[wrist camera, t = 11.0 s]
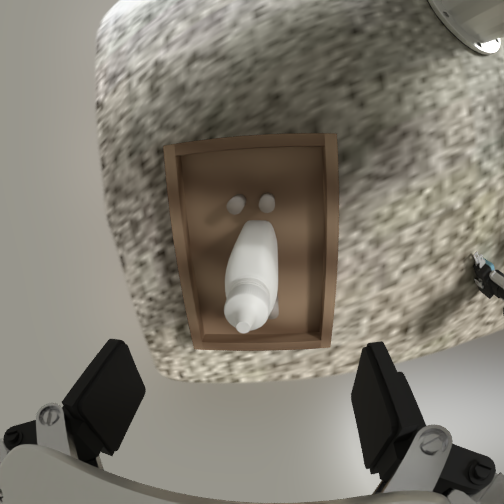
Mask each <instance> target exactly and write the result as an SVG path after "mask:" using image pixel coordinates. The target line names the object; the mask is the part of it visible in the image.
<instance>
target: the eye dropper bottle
mask: <svg viewBox="0 0 504 504" xmlns="http://www.w3.org/2000/svg"><path fill="white" fill-rule="evenodd" d="M225 292H226V298H227V300H226V303H225V306H224V314H225V318H226V319H227V320H228V322H229V323H230V324H231V325H232V326H234V327H235V328H236V329H237V331H238V332H240V333H248V332H249V331H250V330H256V329H258V328H260V327H262V326H263V324H265V322H266V321H267V319H268V317H269V315H270V313H271V311H272V309H273V307H274V304H275V301H276V298H277V292H278V247H277V239H276V235H275V231H274V229H273V226H272V224H271V223H270V222H268V221H263V220H250V221H247V222H246V223H245V224H244V226H243V228H242V230H241V232H240V235H239V237H238V239H237V241H236V243H235V245H234V248H233V250H232V253H231V255H230V258H229V261H228V264H227V268H226V274H225Z"/></svg>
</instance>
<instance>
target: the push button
mask: <svg viewBox="0 0 504 504" xmlns="http://www.w3.org/2000/svg"><path fill="white" fill-rule="evenodd" d="M476 255H477V258H476ZM474 259H475V261H476V262H475V265H474V266H473V267H474V269H475V272H476V275H477V277H478V280H479V281H478V280H476V279H474V280H475V283H476V284H477V285H478V286H479V290H480V291H481V292H482V293H483V294H484V295H486V296H487V297H488V298H489V299H490V298H491V297H492V296H493V295H495V296H497V297H498V298H500V299H502V300H503V301H504V274H503V273H502V272H500V271H499V270H495V268H494V265H493V264H492V263H491V262H489V261H487V260H486V259H484V258H483V256H482V254H481V255H480V256H479V254H478V252H476V253H475V254H474ZM476 281H477V282H478V283H477V282H476ZM503 314H504V310H503Z"/></svg>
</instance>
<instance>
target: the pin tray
mask: <svg viewBox="0 0 504 504" xmlns="http://www.w3.org/2000/svg"><path fill="white" fill-rule="evenodd" d="M163 150H164V162H165V173H166V184H167V193H168V202H169V210H170V218H171V226H172V233H173V240H174V247H175V253H176V259H177V265H178V271H179V277H180V283H181V288H182V294H183V299H184V304H185V309H186V314H187V319H188V323H189V328H190V333H191V337H192V342H193V346H194V349H201V350H233V351H264V350H297V349H315V348H328V347H330V345H331V336H332V327H333V317H334V306H335V294H336V280H337V263H338V237H339V171H338V146H337V134H330V133H291V134H265V135H249V136H236V137H225V138H215V139H207V140H199V141H191V142H184V143H177V144H171V145H165V146H163ZM250 220H263V221H268V222H270V223H271V224H272V226H273V229H274V231H275V235H276V239H277V247H278V292H277V298H276V301H275V304H274V307H273V309H272V311H271V313H270V315H269V317H268V319H267V321H266V322H265V324H263V326H262V327H260V328H258V329H256V330H250V331H249V332H248V333H240V332H238V331H237V329H236V328H235V327H234V326H232V325H231V324H230V323H229V322H228V320H227V319H226V318H225V314H224V306H225V303H226V300H227V298H226V292H225V274H226V268H227V264H228V261H229V258H230V255H231V253H232V250H233V248H234V245H235V243H236V241H237V239H238V237H239V235H240V232H241V230H242V228H243V226H244V224H245V223H246V222H247V221H250Z"/></svg>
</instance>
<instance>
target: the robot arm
mask: <svg viewBox="0 0 504 504" xmlns="http://www.w3.org/2000/svg"><path fill="white" fill-rule="evenodd" d="M428 2H429V3H430V5H431V7H432V9H433V10H434V12H435V13H436V14H437V16H438V17H439V18H440V20H441V21H442V22H443V23H444V25H445V26H446V27H447V28H448V29H449V30H450V31H451V32H452V33H453V34H454V35H455V36H456V37H457V38H458V39H459V40H461V41H462V42H463V43H464V44H465V45H467V46H468V47H470V48H471V49H473V50H475V51H477V52H478V53H481V54H485V55H490V54H493V53H495V52H497V51H498V50H499V48H500V38H501V37H503V36H504V0H428ZM144 395H145V386H144V384H143V381H142V379H141V377H140V375H139V372H138V370H137V368H136V365H135V363H134V361H133V358H132V356H131V353H130V350H129V348H128V346H127V345H126V344H125V343H124V341H122V340H117V339H109V340H108V341H107V343H106V344H105V345H104V346H103V348H102V349H101V350H100V352H99V353H98V354H97V355H96V357H95V358H94V359H93V361H92V362H91V363H90V364H89V366H88V367H87V368H86V370H85V371H84V373H83V374H82V375H81V377H80V378H79V379H78V380H77V382H76V383H75V384H74V386H73V387H72V389H71V390H70V391H69V393H68V394H67V396H66V397H65V398H64V400H63V401H62V404H63V405H64V406H63V407H61V406H60V405H58V404H56V403H49V404H46V405H44V406H42V407H41V408H40V409H39V411H38V412H37V415H36V420H34V421H31V422H27V423H23V424H20V425H16V426H13V427H10V428H9V429H8V430H7V431H6V432H5V435H4V439H3V440H2V439H0V504H504V475H503V474H502V473H499V474H497V473H495V472H496V469H495V464H494V462H493V460H491V459H490V458H489V457H487V456H485V455H482V454H479V453H476V452H473V451H470V450H468V449H465V448H462V447H459V446H457V445H454V444H452V436H451V434H450V432H449V431H448V430H447V429H446V428H444V427H442V426H440V425H428V426H426V424H425V422H424V419H423V417H422V414H421V412H420V409H419V407H418V405H417V402H416V400H415V398H414V395H413V393H412V391H411V388H410V386H409V384H408V382H407V380H406V378H405V376H404V374H403V373H402V372H397V370H396V368H395V366H394V364H393V362H392V359H391V357H390V355H389V353H388V351H387V349H386V347H385V345H384V343H383V342H373V343H368V344H367V347H363V349H362V353H361V357H360V361H359V366H358V370H357V374H356V378H355V382H354V386H353V390H352V393H351V400H352V405H353V410H354V414H355V418H356V423H357V428H358V433H359V438H360V443H361V448H362V453H363V458H364V464H365V467H366V469H369V468H370V472H371V474H375V473H379V476H380V479H381V480H382V481H381V482H380V484H379V485H378V487H377V488H376V489H375V491H374V492H373V494H372V495H366V496H359V497H353V498H346V499H338V500H329V501H318V502H304V503H249V502H235V501H225V500H217V499H209V498H202V497H197V496H191V495H186V494H181V493H176V492H171V491H168V490H163V489H160V488H156V487H152V486H148V485H145V484H142V483H138V482H135V481H132V480H129V479H126V478H123V477H120V476H117V475H115V474H112V473H109V472H107V471H104V469H103V466H102V463H101V460H100V457H99V454H100V452H102V453H105V454H108V455H110V456H112V455H113V454H114V451H117V450H118V449H119V447H120V445H121V442H122V440H123V438H124V436H125V434H126V432H127V430H128V428H129V426H130V423H131V422H132V419H133V417H134V415H135V413H136V411H137V409H138V407H139V405H140V403H141V401H142V399H143V397H144Z"/></svg>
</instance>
